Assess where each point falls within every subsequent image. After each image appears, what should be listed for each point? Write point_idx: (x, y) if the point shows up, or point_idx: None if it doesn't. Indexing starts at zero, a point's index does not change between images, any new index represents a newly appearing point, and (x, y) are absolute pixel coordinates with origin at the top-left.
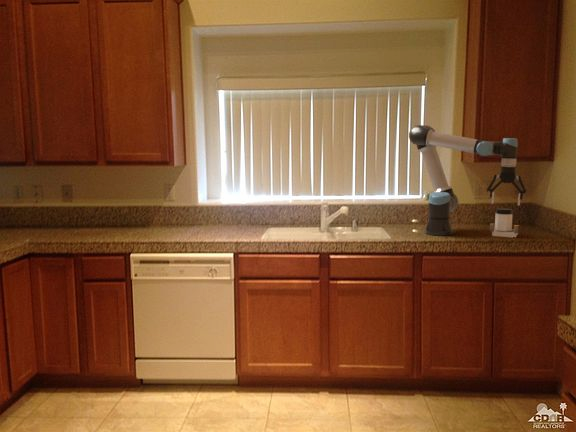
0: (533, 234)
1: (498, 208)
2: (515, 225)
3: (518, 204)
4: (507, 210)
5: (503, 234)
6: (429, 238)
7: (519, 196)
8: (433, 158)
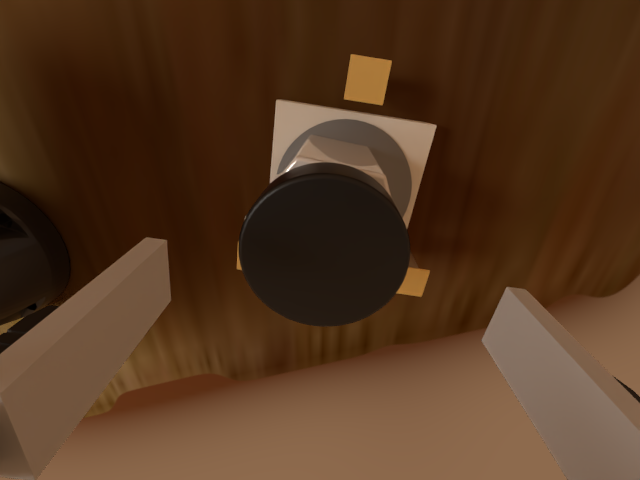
0: (538, 90)
1: (258, 225)
2: (404, 281)
3: (496, 352)
4: (355, 319)
5: None
6: None
7: (581, 475)
8: None
